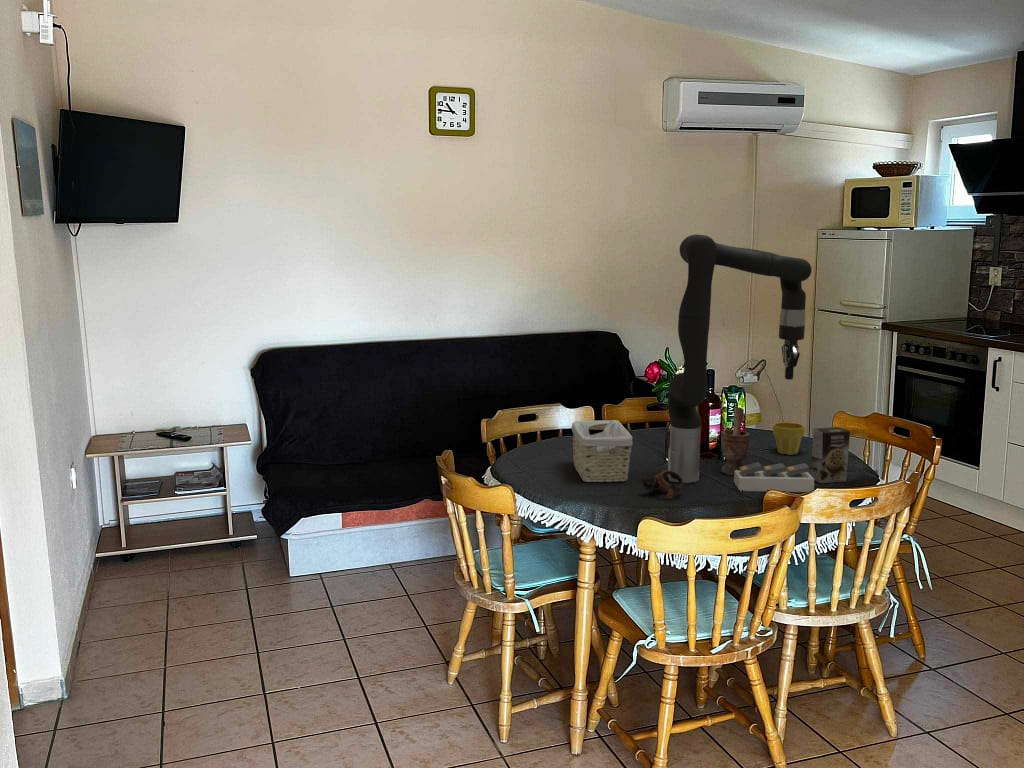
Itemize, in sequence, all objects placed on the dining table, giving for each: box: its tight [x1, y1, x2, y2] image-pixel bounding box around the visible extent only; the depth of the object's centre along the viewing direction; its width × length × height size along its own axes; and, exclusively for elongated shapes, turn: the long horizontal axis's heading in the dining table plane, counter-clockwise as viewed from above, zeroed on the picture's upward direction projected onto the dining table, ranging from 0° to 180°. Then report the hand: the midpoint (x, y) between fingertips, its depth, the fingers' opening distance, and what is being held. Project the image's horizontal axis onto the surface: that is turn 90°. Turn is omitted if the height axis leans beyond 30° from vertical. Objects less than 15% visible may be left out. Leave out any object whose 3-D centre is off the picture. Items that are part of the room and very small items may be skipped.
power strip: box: [733, 470, 815, 493], centre depth 277 cm, size 22×8×5 cm, turn 87°
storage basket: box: [571, 419, 634, 483], centre depth 291 cm, size 24×16×15 cm
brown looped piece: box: [641, 469, 684, 500], centre depth 270 cm, size 12×10×8 cm
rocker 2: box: [762, 462, 787, 475], centre depth 277 cm, size 6×4×2 cm
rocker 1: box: [739, 461, 763, 476], centre depth 277 cm, size 6×4×2 cm
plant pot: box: [772, 421, 806, 456], centre depth 315 cm, size 10×10×10 cm
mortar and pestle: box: [720, 407, 750, 476], centre depth 293 cm, size 12×9×20 cm
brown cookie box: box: [809, 426, 851, 484], centre depth 284 cm, size 9×6×16 cm
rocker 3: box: [785, 462, 811, 476], centre depth 276 cm, size 6×4×2 cm
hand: (788, 379), depth 284 cm, fingers closed
